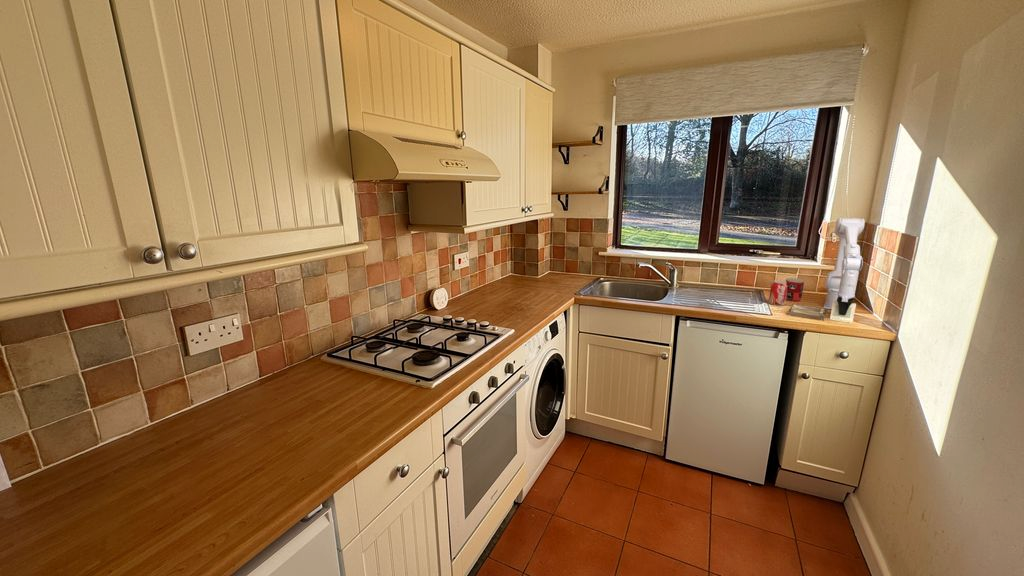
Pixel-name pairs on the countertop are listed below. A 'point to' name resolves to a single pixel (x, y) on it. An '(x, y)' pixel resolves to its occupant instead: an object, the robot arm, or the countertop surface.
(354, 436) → the countertop surface
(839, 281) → the robot arm
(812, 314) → the notched board
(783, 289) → the soda can
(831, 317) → the picture frame
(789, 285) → the canned food
